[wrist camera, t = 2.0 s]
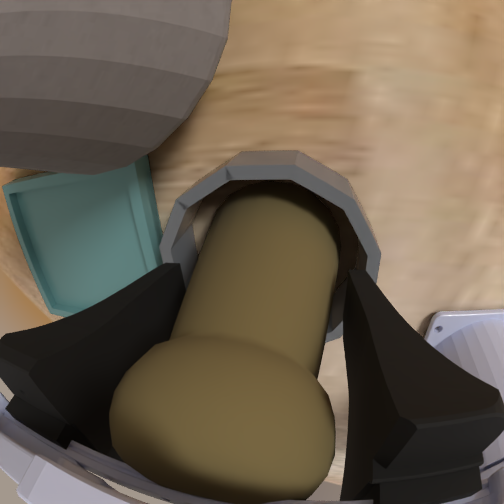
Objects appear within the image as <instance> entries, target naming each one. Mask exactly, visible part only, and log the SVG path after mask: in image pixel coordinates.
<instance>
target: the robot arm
mask: <svg viewBox="0 0 504 504" xmlns="http://www.w3.org/2000/svg"><path fill="white" fill-rule="evenodd" d="M185 293H186V288H185V283H184V279H183V274H182V270H181V265H180V263H164V264H162V265H160V266H158V267H156V268H155V269H153V270H151V271H150V272H148V273H146V274H145V275H143V276H142V277H140V278H139V279H137V280H135V281H134V282H132V283H131V284H129V285H127V286H126V287H124V288H123V289H121V290H119V291H117V292H116V293H114V294H112V295H111V296H109V297H107V298H106V299H104V300H102V301H100V302H98V303H97V304H95V305H93V306H91V307H89V308H86V309H84V310H82V311H80V312H78V313H75V314H73V315H70V316H68V317H65V318H63V319H60V320H58V321H55V322H52V323H49V324H46V325H43V326H39V327H36V328H32V329H28V330H23V331H18V332H13V333H7V334H5V335H4V336H3V337H2V338H1V339H0V378H1V379H2V380H3V381H4V383H5V384H6V385H7V387H8V388H9V389H10V390H11V391H12V393H13V394H14V397H13V398H12V399H11V401H10V402H9V401H8V400H7V399H6V398H5V397H4V395H3V394H2V393H1V392H0V468H1V469H2V470H3V471H4V472H5V473H6V474H7V475H8V476H10V477H11V478H12V479H13V480H14V481H15V482H16V483H17V484H18V487H17V493H18V496H19V497H20V498H22V499H23V500H24V501H25V502H26V503H28V504H148V503H145V502H142V501H139V500H137V499H134V498H131V497H129V496H127V495H124V494H122V493H120V492H118V491H116V490H115V489H114V488H112V487H111V486H109V485H108V484H107V483H106V482H105V481H104V480H103V479H101V478H99V477H97V476H96V475H94V474H97V475H99V476H101V477H103V478H105V479H108V480H110V481H112V482H115V483H117V484H119V485H122V486H124V487H127V488H129V489H132V490H134V491H137V492H140V493H143V494H145V495H148V496H151V497H154V498H157V499H160V500H163V501H167V502H170V503H173V504H233V503H227V502H222V501H217V500H212V499H207V498H203V497H199V496H195V495H191V494H187V493H183V492H179V491H176V490H172V489H169V488H166V487H163V486H160V485H158V484H156V483H154V482H153V481H151V480H149V479H147V478H146V477H144V476H143V475H142V474H140V473H139V472H137V471H136V470H134V469H133V468H132V467H130V466H129V465H127V464H126V463H125V462H124V461H123V460H122V459H121V457H120V456H119V455H118V453H117V452H116V450H115V449H114V447H113V446H112V440H111V433H110V424H109V412H110V407H111V403H112V399H113V395H114V391H115V389H116V388H117V386H118V384H119V383H120V381H121V379H122V378H123V376H124V374H125V373H126V371H127V370H129V369H130V368H131V367H132V366H133V365H134V364H135V363H136V362H137V361H138V360H139V359H140V358H141V357H142V356H143V355H144V354H146V353H147V352H148V351H149V350H150V349H151V348H152V347H153V346H154V345H155V344H159V343H162V342H165V341H169V339H170V336H171V333H172V330H173V327H174V325H175V322H176V319H177V316H178V313H179V310H180V307H181V305H182V302H183V299H184V296H185ZM437 326H439V327H438V328H436V327H437ZM343 342H344V351H345V360H346V369H347V379H348V389H349V416H348V434H347V448H346V458H345V468H344V476H343V483H342V490H341V496H340V501H306V500H284V501H276V502H268V503H264V504H504V309H492V310H470V311H441V312H438V313H436V314H435V315H434V316H433V317H432V319H431V322H430V324H429V327H428V330H427V332H426V335H425V338H423V337H421V336H420V335H419V334H418V333H417V332H416V331H415V330H414V329H413V328H412V327H411V326H410V325H409V324H408V323H407V322H406V321H405V320H404V318H403V317H402V316H401V315H400V314H399V313H398V312H397V310H396V309H395V308H394V307H393V306H392V304H391V303H390V302H389V301H388V299H387V298H386V297H385V295H384V294H383V293H382V291H381V290H380V289H379V287H378V286H377V285H376V283H375V282H374V281H373V279H372V278H371V276H370V275H369V274H368V272H367V271H366V270H349V271H348V280H347V288H346V296H345V303H344V311H343ZM87 470H88V471H90V472H92V473H94V474H92V473H90V472H88V471H87Z"/></svg>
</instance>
